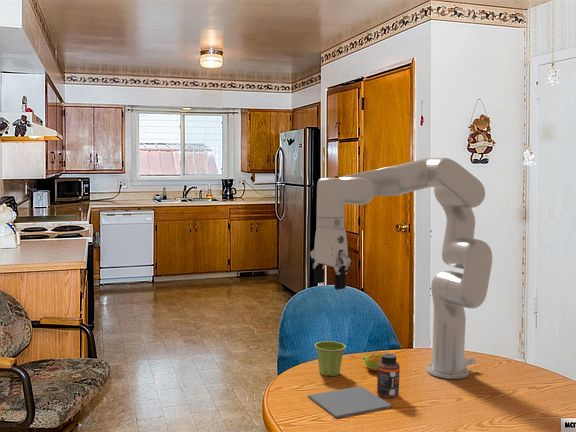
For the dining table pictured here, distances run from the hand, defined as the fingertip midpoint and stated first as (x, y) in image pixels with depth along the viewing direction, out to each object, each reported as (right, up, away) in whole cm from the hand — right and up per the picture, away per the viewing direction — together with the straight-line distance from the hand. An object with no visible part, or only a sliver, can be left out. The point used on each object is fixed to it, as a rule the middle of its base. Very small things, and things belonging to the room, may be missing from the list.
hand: (329, 285), depth 160 cm
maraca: (+16, -29, +24) cm, 41 cm away
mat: (+5, -31, -3) cm, 31 cm away
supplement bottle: (+16, -31, +2) cm, 35 cm away
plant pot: (+2, -29, +19) cm, 35 cm away
